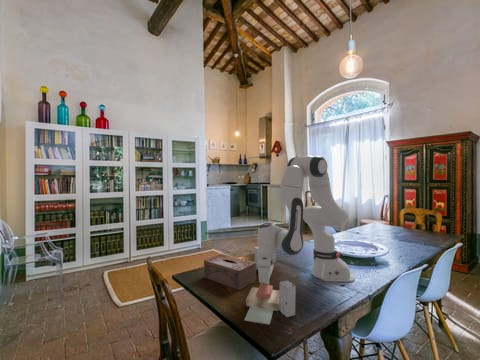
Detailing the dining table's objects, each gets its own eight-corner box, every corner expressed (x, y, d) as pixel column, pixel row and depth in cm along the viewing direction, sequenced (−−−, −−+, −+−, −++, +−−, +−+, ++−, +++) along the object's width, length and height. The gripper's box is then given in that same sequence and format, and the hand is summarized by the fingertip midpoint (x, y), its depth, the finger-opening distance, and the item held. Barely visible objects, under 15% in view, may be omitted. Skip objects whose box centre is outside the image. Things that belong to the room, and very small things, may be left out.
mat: (273, 310, 99) (273, 309, 99) (269, 324, 90) (269, 323, 90) (250, 307, 102) (250, 306, 102) (244, 320, 93) (244, 319, 93)
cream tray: (281, 297, 110) (281, 290, 110) (278, 311, 99) (278, 303, 99) (252, 293, 114) (252, 287, 114) (246, 306, 103) (245, 299, 103)
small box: (260, 271, 140) (260, 250, 140) (254, 268, 146) (254, 247, 146) (271, 268, 145) (270, 247, 145) (264, 265, 150) (264, 245, 150)
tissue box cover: (204, 277, 134) (204, 260, 134) (221, 269, 145) (221, 253, 145) (239, 290, 118) (239, 270, 118) (256, 280, 129) (255, 262, 129)
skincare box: (278, 310, 100) (278, 281, 99) (287, 307, 101) (287, 279, 101) (287, 318, 94) (286, 287, 94) (296, 315, 96) (296, 285, 96)
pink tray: (260, 288, 113) (260, 284, 113) (272, 289, 111) (272, 285, 111) (256, 297, 105) (256, 292, 105) (269, 299, 103) (269, 294, 103)
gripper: (264, 249, 125) (264, 275, 125) (255, 263, 106) (256, 294, 106) (276, 250, 124) (276, 277, 124) (269, 264, 104) (270, 295, 104)
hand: (267, 285), depth 115 cm, fingers closed
